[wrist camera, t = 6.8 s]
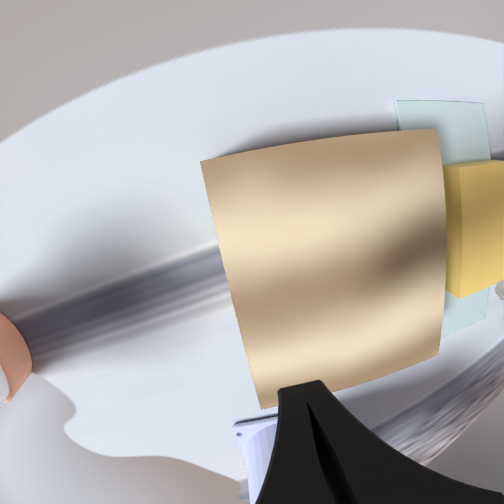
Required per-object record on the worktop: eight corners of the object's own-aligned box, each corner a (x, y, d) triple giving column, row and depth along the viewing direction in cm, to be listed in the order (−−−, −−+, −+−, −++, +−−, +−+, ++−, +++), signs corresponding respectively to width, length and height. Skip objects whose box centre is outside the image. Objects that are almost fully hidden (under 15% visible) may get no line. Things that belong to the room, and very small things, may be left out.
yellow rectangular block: (459, 299, 18) (443, 288, 20) (509, 277, 18) (493, 269, 20) (458, 167, 15) (440, 165, 17) (510, 161, 16) (493, 159, 17)
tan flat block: (410, 327, 21) (438, 354, 17) (255, 370, 21) (261, 409, 17) (399, 132, 17) (437, 128, 13) (206, 161, 17) (200, 161, 13)
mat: (483, 316, 22) (485, 317, 21) (409, 348, 21) (410, 349, 21) (480, 103, 16) (482, 103, 16) (394, 101, 16) (396, 101, 16)
